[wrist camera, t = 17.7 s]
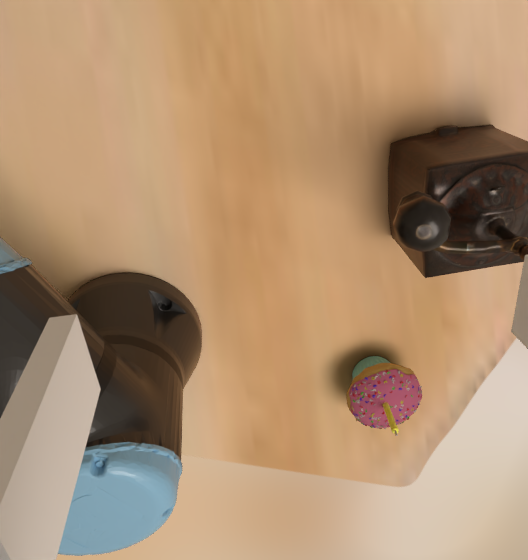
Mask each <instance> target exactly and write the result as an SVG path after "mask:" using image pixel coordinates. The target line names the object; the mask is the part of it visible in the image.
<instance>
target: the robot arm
mask: <svg viewBox="0 0 528 560" xmlns="http://www.w3.org/2000/svg"><path fill="white" fill-rule="evenodd" d="M31 264H32V262H31V261H30V260H29V259H27V258H23V257H22V256H21V255H20V254H18V253H17V252H16V251H15V250H14V249H13V248H12V247H11V246H10V245H9V244H7V243H6V242H5V241H4V240H3V239H2V238H1V237H0V560H56V558H57V554H63V555H75V556H80V555H81V556H82V555H89V554H90V555H91V554H92V555H94V554H103V553H109V552H113V551H117V550H120V549H123V548H127V547H129V546H131V545H134V544H136V543H138V542H140V541H142V540H144V539H146V538H147V537H149V536H150V535H152V534H153V533H154V532H155V531H157V530H158V529H159V528H160V527H161V526H162V525H163V524H164V523H165V522H166V520H167V519H168V517H169V516H170V514H171V513H172V511H173V508H174V506H175V503H176V499H177V489H178V482H179V478H180V475H181V473H182V463H181V442H182V405H183V389H184V387H185V385H186V383H187V382H188V380H189V378H190V376H191V375H192V373H193V371H194V369H195V367H196V366H197V363H198V361H199V358H200V353H201V347H202V330H201V323H200V320H199V317H198V314H197V312H196V310H195V308H194V307H193V305H192V304H191V302H190V301H189V300H188V299H187V298H186V297H185V296H184V295H183V294H182V293H181V292H180V291H179V290H178V289H176V288H175V287H173V286H172V285H170V284H168V283H166V282H164V281H162V280H160V279H157V278H154V277H151V276H147V275H142V274H135V273H119V274H112V275H107V276H103V277H100V278H97V279H95V280H92V281H90V282H88V283H87V284H85V285H84V286H82V287H81V288H79V289H78V290H77V291H76V292H75V293H74V294H73V295H72V296H71V297H70V298H69V300H68V301H67V300H66V299H65V298H64V297H63V296H62V295H61V294H60V293H59V292H58V291H57V290H56V289H55V288H54V287H53V286H52V285H51V284H50V283H49V282H48V281H47V280H46V279H45V278H44V277H43V276H42V275H41V274H40V273H39V272H38V271H37V270H36V269H35V268H34V267H33V266H32V265H31ZM511 332H512V333H513V334H514V335H515V336H516V337H517V338H518V339H519V340H520V341H521V342H522V343H523V344H524V345H525V346H526V348H527V349H528V255H525V258H524V264H523V269H522V275H521V281H520V286H519V292H518V297H517V303H516V308H515V314H514V320H513V325H512V331H511Z"/></svg>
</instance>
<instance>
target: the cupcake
mask: <svg viewBox="0 0 528 560" xmlns="http://www.w3.org/2000/svg"><path fill="white" fill-rule="evenodd" d="M421 398H422V390H421V386H420V385H419V382H418V379H417V377H416V376H415V374H414V372H413V371H412V370H411V369H409V368H405V367H403V366H400V365H396V364H392V363H390V362H389V361H388V360H386V359H385V358H383V357H379V356H371V357H367V358H365V359H363V360H361V361H360V362H359V363H358V364H357V365H356V366H355V368H354V370H353V374H352V383H351V385H350V387H349V389H348V391H347V404H348V408H349V410H350V411H351V413H352V414H353V415H354V416H355V418H356V421H359V422H361V424H363V425H365V426H367V425H368V426H370V427H372V428H373V427H374V428H379V429H382V428H384V429H386V427H391V430H392V432H393V433H395V435H396V436H397V433H398V428H397V425H398V424H400V423H403V422H404V421H405V420H406V419H407V420H408V419H409V417H410V416H411V415H412V414H413V413H414V412H416V409H417V408H418V405H419V403H420V401H421Z"/></svg>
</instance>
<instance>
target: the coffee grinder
mask: <svg viewBox="0 0 528 560" xmlns="http://www.w3.org/2000/svg"><path fill="white" fill-rule="evenodd" d="M388 212H389V218H390V225H391V231H392V238H393V239H395V241H396V242H397V243H398V244H399V245H400V247H401V248H402V249H403V250H404V252H405V253H406V254H407V256H408V257H409V258H410V259H411V261H412V262H413V263H414V264H415V266H416V267H417V268H418V270H419V271H420V272H421V273H422V275H423V276H424V277H425V278H427V277H433V276H439V275H445V274H451V273H457V272H464V271H469V270H475V269H481V268H487V267H493V266H499V265H506V264H512V263H518V262H524V258H525V255H528V141H525V140H523V139H521V138H518V137H516V136H513V135H511V134H508V133H506V132H503V131H501V130H499V129H496V128H495V127H494V126H493V125H486V126H475V127H461V128H457V126H446V127H442V128H438V129H436V131H433V132H431V133H427V134H422V135H417V136H412V137H408V138H405V139H402V140H399V141H396V142H394V143H391V150H390V158H389V167H388Z"/></svg>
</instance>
